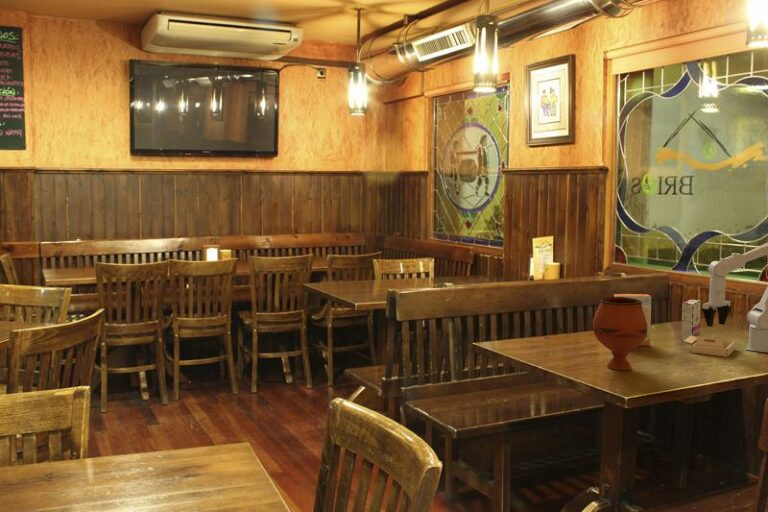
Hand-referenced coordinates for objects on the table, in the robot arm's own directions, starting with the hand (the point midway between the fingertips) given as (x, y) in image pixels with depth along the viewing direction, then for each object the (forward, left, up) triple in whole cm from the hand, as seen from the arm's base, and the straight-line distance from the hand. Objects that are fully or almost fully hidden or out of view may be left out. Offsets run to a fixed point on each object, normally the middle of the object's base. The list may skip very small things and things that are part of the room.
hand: (715, 325), depth 305 cm
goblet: (+23, +49, -10) cm, 55 cm away
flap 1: (+9, +2, -6) cm, 11 cm away
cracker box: (+30, +9, -10) cm, 33 cm away
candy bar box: (+12, -15, -10) cm, 22 cm away
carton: (0, +2, -10) cm, 10 cm away
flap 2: (0, +9, -5) cm, 11 cm away
